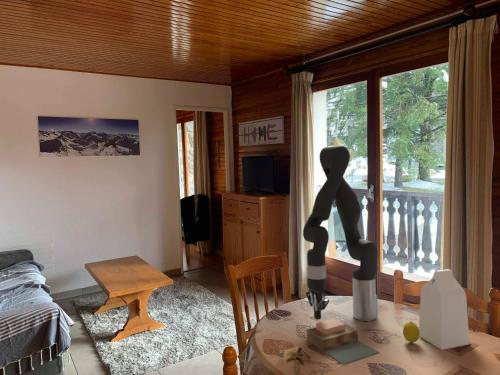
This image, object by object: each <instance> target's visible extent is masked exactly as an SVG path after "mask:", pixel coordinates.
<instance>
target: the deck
mask: <svg viewBox="0 0 500 375" xmlns="http://www.w3.org/2000/svg"><path fill="white" fill-rule="evenodd" d="M340 321H341V322H342V323H344V324H345V330H341V331H337V332H334V333H330V334H327V335H326V334H324V333H322V332H321V331H319V330H317V329H316V326H315V327H312V328H308V329H306V341H307V342H309V343H311V344H312V345H313V346H315V347H317V349H319V350H321V351H322V352H324V351H326V350H329V349H332V348H336V347H339V346H342V345H345V344H349V343H352V342H355V341H358V340H359V330H358V329H356V328H355V327H353V326H351V325H349V324H347V323H345V322H344V321H342V320H340Z"/></svg>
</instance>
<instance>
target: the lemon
mask: <svg viewBox="0 0 500 375" xmlns="http://www.w3.org/2000/svg"><path fill="white" fill-rule="evenodd" d="M402 328H403V329H402V335H403V337H404V339H405V340H406V341H407V342H408V343H410V344H413V343H415V342H418V340H419V339H420V336H419V335H420V333H419V325H417V324H416V323H415V322H413V321H409V322H406V323H405V324H404V325H403V327H402Z"/></svg>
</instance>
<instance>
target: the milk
mask: <svg viewBox="0 0 500 375" xmlns="http://www.w3.org/2000/svg"><path fill="white" fill-rule="evenodd" d="M419 300H420V301H419V302H420V303H419V321H418V322H419V323H418V324H419V325H418V328H419V333H420V335H419V338H421V339H422V340H425V341H427V342H428V343H430V344H432V345H433V346H435V347H436V348H438V349H440V350H442V351H443V350H449V349H453V348H457V347H462V346H467V345H470V334H469V332H470V331H469V320H468V305H467V304H468V301H467V294H466V292H465V290H464V288H463V287H462V285H461V284H460V283H459V281H457V279H456V278H455V277H454V275H453V271H452V269H449V268H446V269H438V270H434V272H433V275H432V278H431V279H430V280H428V281H427V282H426V283H424V284H423V285H422V287H421V289H420V299H419Z"/></svg>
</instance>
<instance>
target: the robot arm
mask: <svg viewBox="0 0 500 375" xmlns="http://www.w3.org/2000/svg"><path fill="white" fill-rule="evenodd" d="M350 160H351V154H350V151H349V148H347V147H346V146H345V145H332V146H330V145H329V146H325V147H323V148H322V149H321V150H320V152H319V162H320V166H321V168H322V171H323V173H324V176H325V177H326V179H325V182H324V184H323V185H322V186H321V187H320V189H319V190H318V193H317V194H316V196H315V198H314V202H313V206H312V209H311V210H312V211H311V214H310V215H309V216H308V218H307V220H306V222H305V224H304V226H303V230H302V235H303V238H304V240H305V241H306V242H308V243H312V244H313V245H312V248H310V249H308V250H307V252H306V262H307V264H306V265H307V266H306V287H307V289H308V291H306V292H305V296H306V298H307V300H308V303H309V306H310V307H312V309H313V318H314V320H317V321H318V320H321V319H322V311H323V310H325V309H326V307H328V306H329V303H330V300H329V298H328V299H327V298H326V292H325V289H326V288H327V267H326V266H327V265H326V253H327V248H328V245H329V238H330V236H329V231H328V229H327V228H326V227H325V226H322V223H323V222H325V221H328V220H329V218H330V217H331V213H332V209H333V204H334V203H335V207H336V210H337V213H338V214H337V215H338V217H339V218H340V222H341V226H342V229H343V235H344V238H345V243H346V248H347V251H348V252H347V253H348V254H349V257H350V258H352V259H353V260H355V261H358V262H359V268H355V269H353V270H352V302H353V303H352V308H353V310H352V313H353V315H352V316H353V318H354V319H356V320H358V321H360V322H361V321H362V322H371V321H374V320H376V318H378V316H379V315H378V312H379V311H378V295H377V294H376V275H377V274H376V273H377V272H378V271H377V270H378V259H379V258H378V255H379V254H378V246H377V245H376V243H375V242H374V241H371V240H366V239H363V238H362V236H361V234H360V231H359V221H360V218H361V214H362V208H361V205H360V202H359V198H358V196H357V193H356V192H355V191H354V189H353V188H352V187H351V186H350V184H349V183H348V182H347V180H345V178H344V175H345V173H346V171H347V168H348V166H349V163H350Z"/></svg>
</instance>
